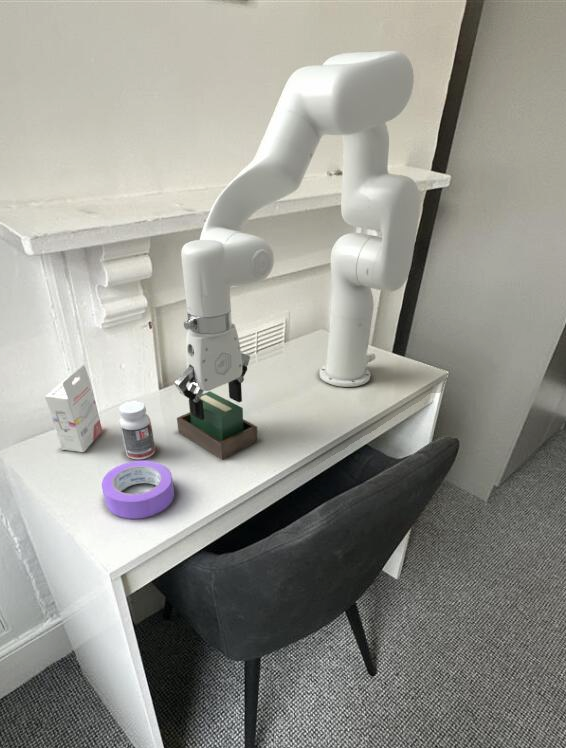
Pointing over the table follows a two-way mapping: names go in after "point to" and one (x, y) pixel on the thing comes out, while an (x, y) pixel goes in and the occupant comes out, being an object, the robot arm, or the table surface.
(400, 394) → the table surface
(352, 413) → the table surface
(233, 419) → the green box
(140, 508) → the tape roll
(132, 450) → the pill bottle
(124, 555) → the table surface
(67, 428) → the ink cartridge box
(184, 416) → the caddy
